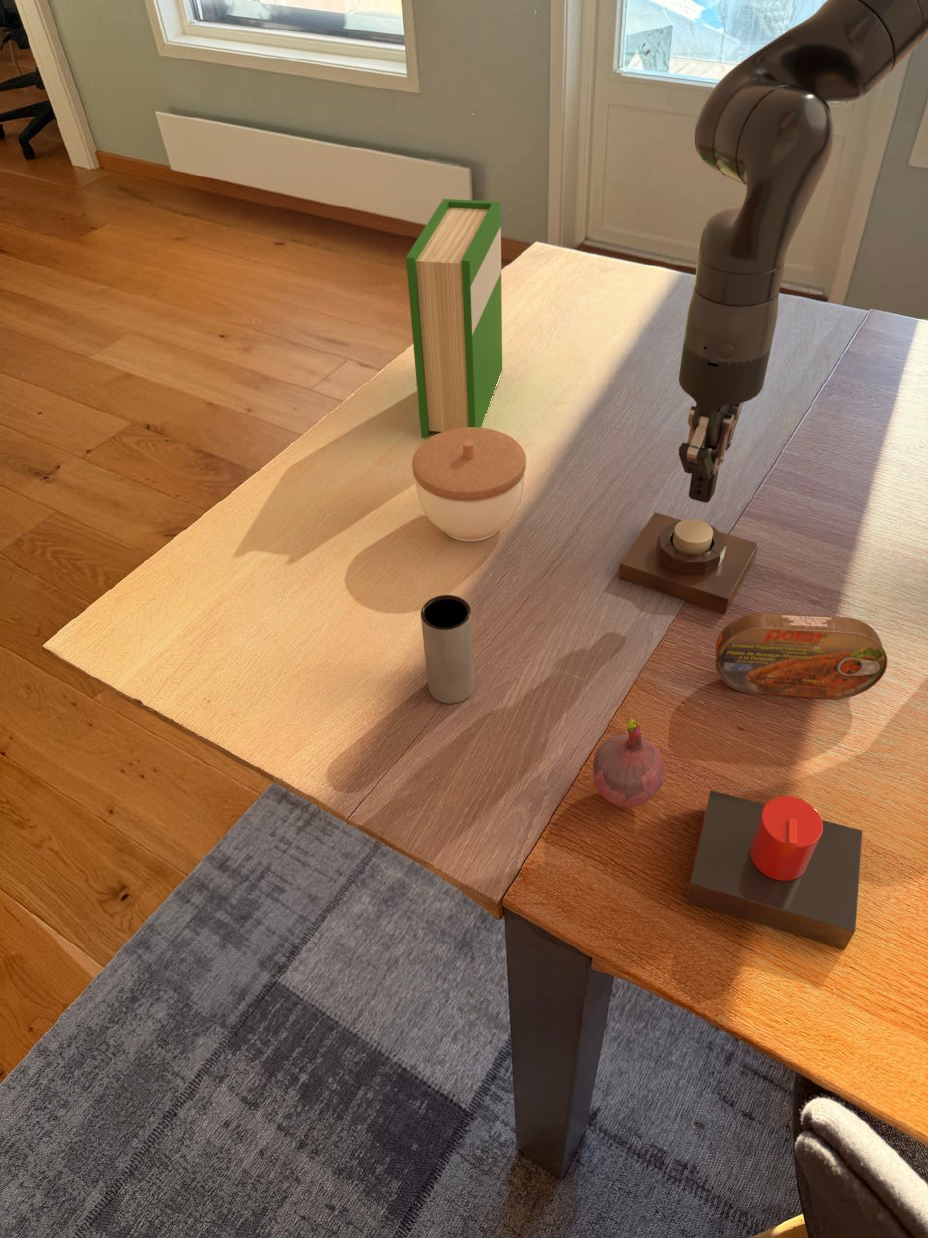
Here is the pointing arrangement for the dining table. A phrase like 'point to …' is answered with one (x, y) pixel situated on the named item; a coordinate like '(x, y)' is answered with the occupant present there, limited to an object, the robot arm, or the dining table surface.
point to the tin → (800, 655)
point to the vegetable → (628, 768)
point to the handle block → (741, 890)
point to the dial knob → (785, 838)
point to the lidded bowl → (469, 481)
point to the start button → (692, 537)
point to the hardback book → (456, 313)
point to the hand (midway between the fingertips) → (700, 496)
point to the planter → (448, 648)
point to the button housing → (688, 565)
